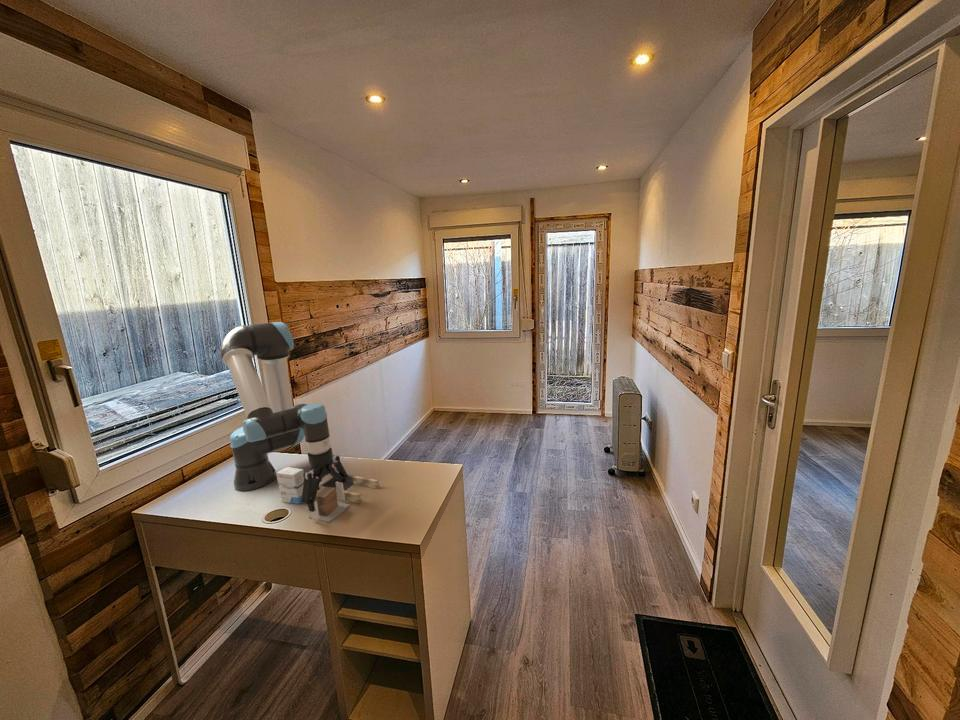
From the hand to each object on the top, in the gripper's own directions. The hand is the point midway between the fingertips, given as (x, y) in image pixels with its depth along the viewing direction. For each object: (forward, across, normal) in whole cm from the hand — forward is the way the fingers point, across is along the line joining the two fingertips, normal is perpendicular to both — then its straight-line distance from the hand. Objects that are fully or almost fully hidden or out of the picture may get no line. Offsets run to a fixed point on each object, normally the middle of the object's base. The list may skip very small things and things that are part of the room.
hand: (329, 508), depth 130 cm
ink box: (+2, +2, +19) cm, 19 cm away
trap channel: (+1, +13, +3) cm, 13 cm away
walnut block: (+1, 0, +1) cm, 1 cm away
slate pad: (+1, 0, 0) cm, 1 cm away
